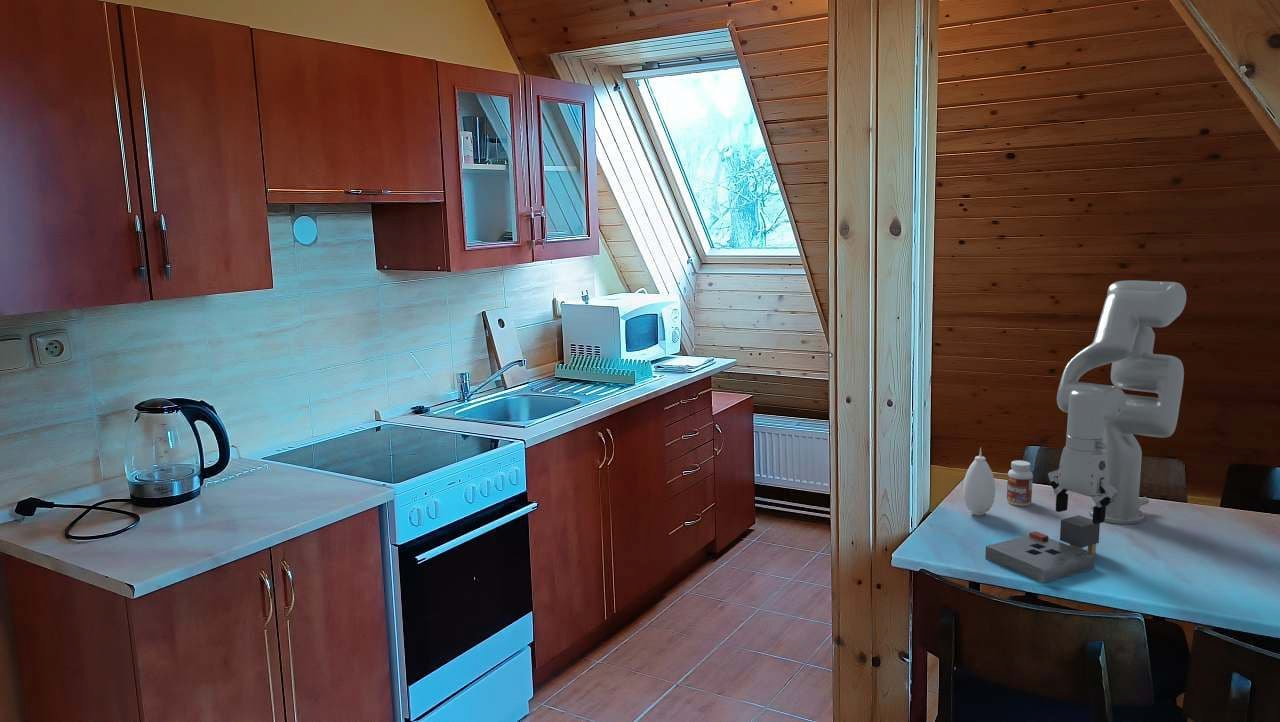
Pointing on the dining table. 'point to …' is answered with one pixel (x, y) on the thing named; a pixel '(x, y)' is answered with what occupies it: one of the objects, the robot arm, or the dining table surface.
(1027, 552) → the socket
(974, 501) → the air blower bulb
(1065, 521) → the plug
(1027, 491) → the pill bottle
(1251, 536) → the dining table surface
